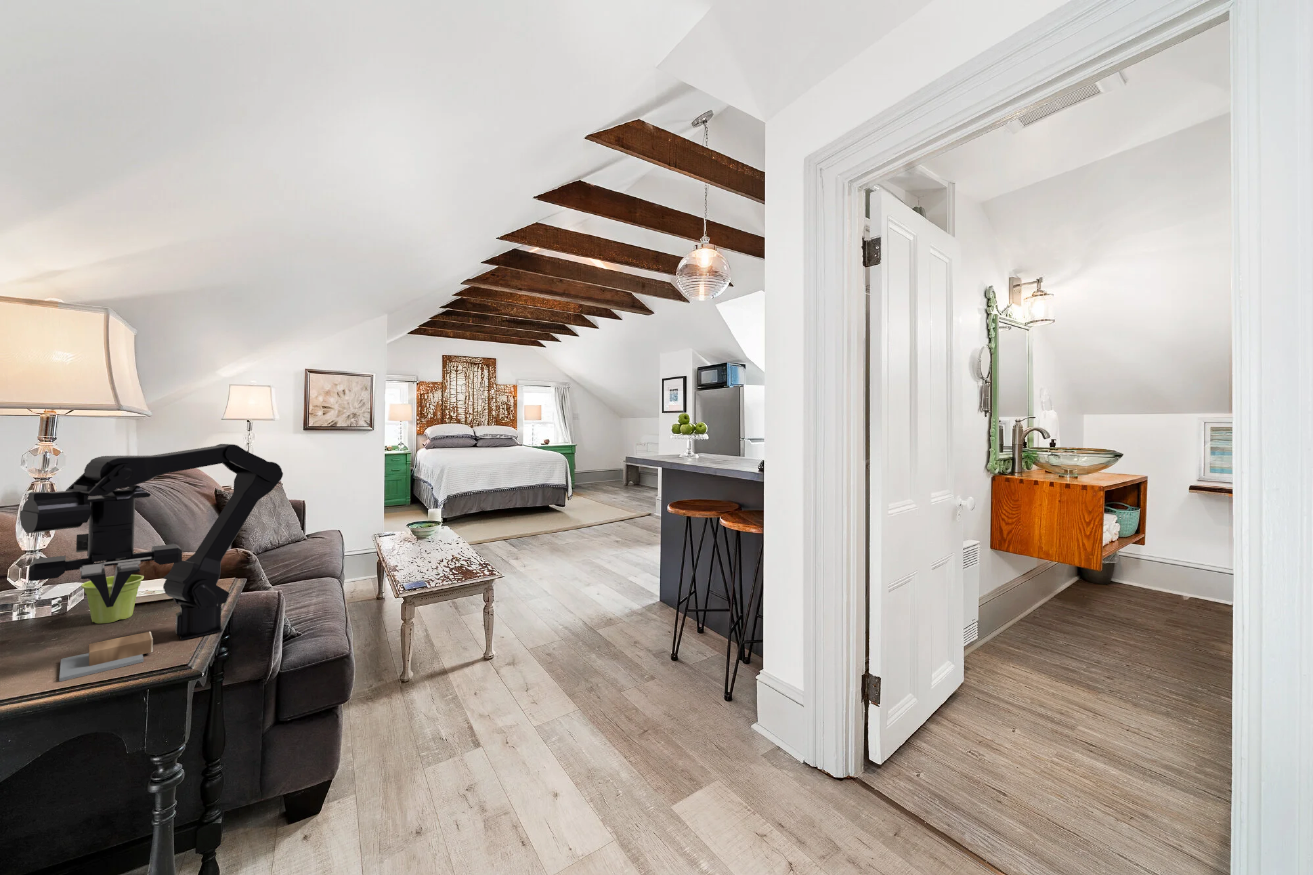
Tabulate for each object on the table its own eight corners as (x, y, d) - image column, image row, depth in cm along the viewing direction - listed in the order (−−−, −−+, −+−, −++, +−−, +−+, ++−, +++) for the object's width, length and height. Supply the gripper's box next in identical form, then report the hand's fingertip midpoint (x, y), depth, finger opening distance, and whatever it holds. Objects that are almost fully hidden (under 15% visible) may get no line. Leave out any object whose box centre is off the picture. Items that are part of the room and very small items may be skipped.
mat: (139, 645, 98) (139, 642, 98) (143, 661, 92) (143, 658, 92) (60, 661, 90) (61, 658, 90) (59, 681, 84) (59, 678, 84)
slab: (88, 657, 91) (150, 643, 97) (89, 666, 88) (152, 651, 94) (89, 643, 91) (150, 631, 97) (89, 652, 88) (152, 638, 94)
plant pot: (94, 614, 112) (95, 576, 112) (150, 608, 116) (151, 572, 116) (69, 629, 104) (70, 589, 103) (131, 623, 108) (131, 584, 108)
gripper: (176, 512, 104) (174, 585, 104) (34, 522, 89) (31, 607, 89) (183, 520, 96) (181, 599, 96) (29, 532, 82) (27, 624, 82)
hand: (109, 606), depth 91 cm, fingers closed
